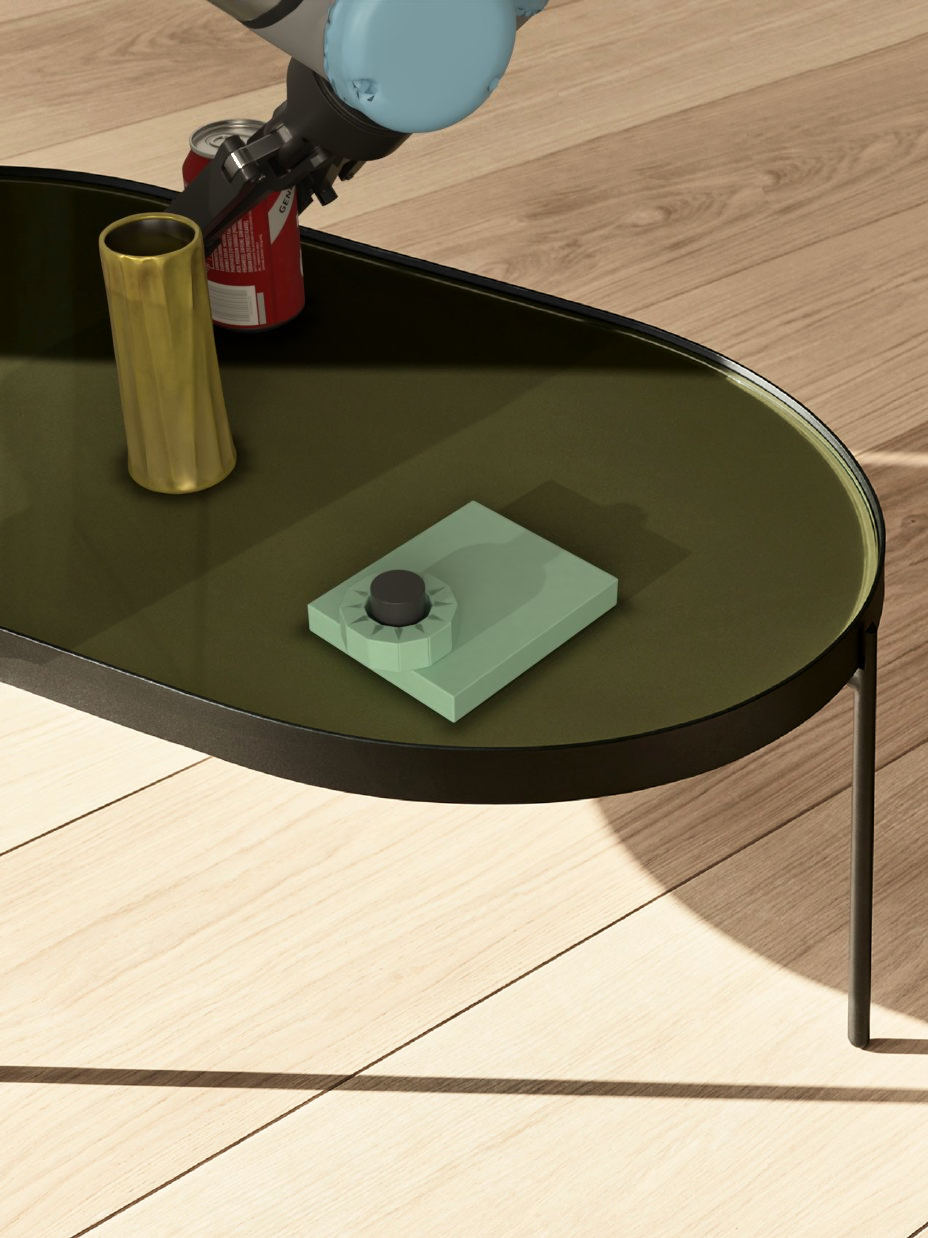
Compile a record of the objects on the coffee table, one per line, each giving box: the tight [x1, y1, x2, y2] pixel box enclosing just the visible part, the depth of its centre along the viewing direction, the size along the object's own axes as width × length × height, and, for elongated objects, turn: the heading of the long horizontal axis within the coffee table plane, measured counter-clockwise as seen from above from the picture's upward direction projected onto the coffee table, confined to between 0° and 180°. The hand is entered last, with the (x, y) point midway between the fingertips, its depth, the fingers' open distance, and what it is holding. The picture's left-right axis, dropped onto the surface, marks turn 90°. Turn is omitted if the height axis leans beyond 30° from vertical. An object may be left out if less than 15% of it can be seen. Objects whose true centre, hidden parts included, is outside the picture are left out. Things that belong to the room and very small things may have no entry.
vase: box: [98, 211, 237, 495], centre depth 90 cm, size 6×6×14 cm
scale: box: [307, 500, 619, 723], centre depth 83 cm, size 13×10×4 cm
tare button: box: [370, 570, 426, 628], centre depth 79 cm, size 3×3×2 cm
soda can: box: [181, 117, 306, 334], centre depth 104 cm, size 7×7×12 cm
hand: (212, 247), depth 108 cm, fingers closed on soda can, 7 cm apart
